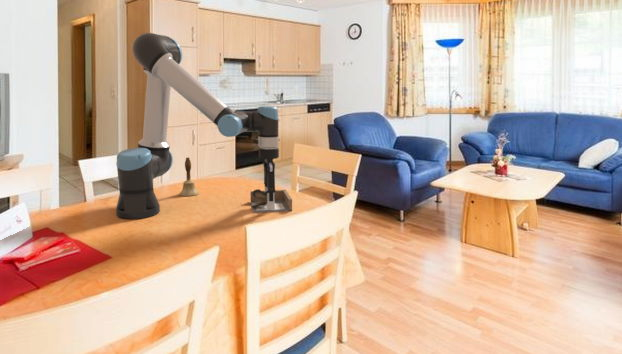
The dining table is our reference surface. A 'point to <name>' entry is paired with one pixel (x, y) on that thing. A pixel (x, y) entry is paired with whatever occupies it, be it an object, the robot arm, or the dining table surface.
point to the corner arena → (281, 202)
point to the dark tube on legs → (260, 197)
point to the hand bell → (188, 182)
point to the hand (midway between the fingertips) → (269, 206)
